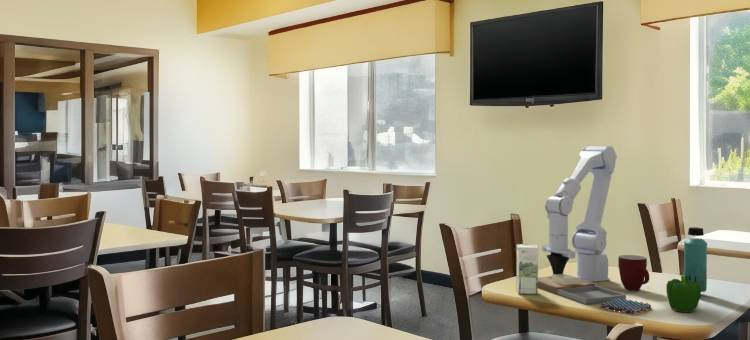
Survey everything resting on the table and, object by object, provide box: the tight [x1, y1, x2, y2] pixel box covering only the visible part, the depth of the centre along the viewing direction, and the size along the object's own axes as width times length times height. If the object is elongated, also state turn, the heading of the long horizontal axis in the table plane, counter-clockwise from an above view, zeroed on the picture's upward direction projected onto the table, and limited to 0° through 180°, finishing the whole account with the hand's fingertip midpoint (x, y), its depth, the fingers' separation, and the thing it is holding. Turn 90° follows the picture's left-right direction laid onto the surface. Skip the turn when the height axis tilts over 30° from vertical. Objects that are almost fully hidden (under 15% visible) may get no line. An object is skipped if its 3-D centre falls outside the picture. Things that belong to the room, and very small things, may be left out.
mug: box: [617, 254, 650, 292], centre depth 201 cm, size 10×8×10 cm
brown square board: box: [538, 275, 596, 295], centre depth 206 cm, size 14×14×2 cm
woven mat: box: [599, 298, 653, 316], centre depth 180 cm, size 10×11×2 cm
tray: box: [556, 284, 627, 305], centre depth 193 cm, size 14×13×2 cm
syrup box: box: [515, 243, 539, 296], centre depth 199 cm, size 6×6×14 cm
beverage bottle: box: [682, 226, 708, 293], centre depth 195 cm, size 6×7×20 cm
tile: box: [551, 272, 580, 285], centre depth 204 cm, size 6×6×2 cm
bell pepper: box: [666, 274, 702, 313], centre depth 178 cm, size 8×8×10 cm
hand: (557, 277), depth 208 cm, fingers closed
